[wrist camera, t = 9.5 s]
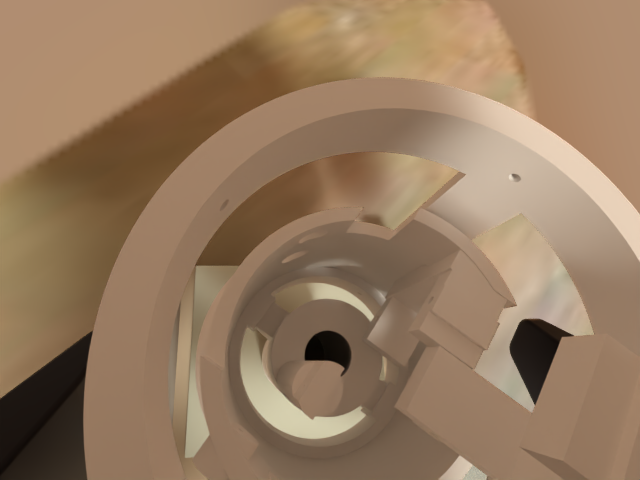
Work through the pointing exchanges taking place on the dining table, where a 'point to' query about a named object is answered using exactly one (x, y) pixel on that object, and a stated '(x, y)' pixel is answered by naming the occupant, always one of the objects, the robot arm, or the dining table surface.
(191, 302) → the rail board
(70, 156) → the dining table surface
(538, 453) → the beige tall round piece
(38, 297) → the dining table surface
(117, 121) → the dining table surface
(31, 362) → the dining table surface
